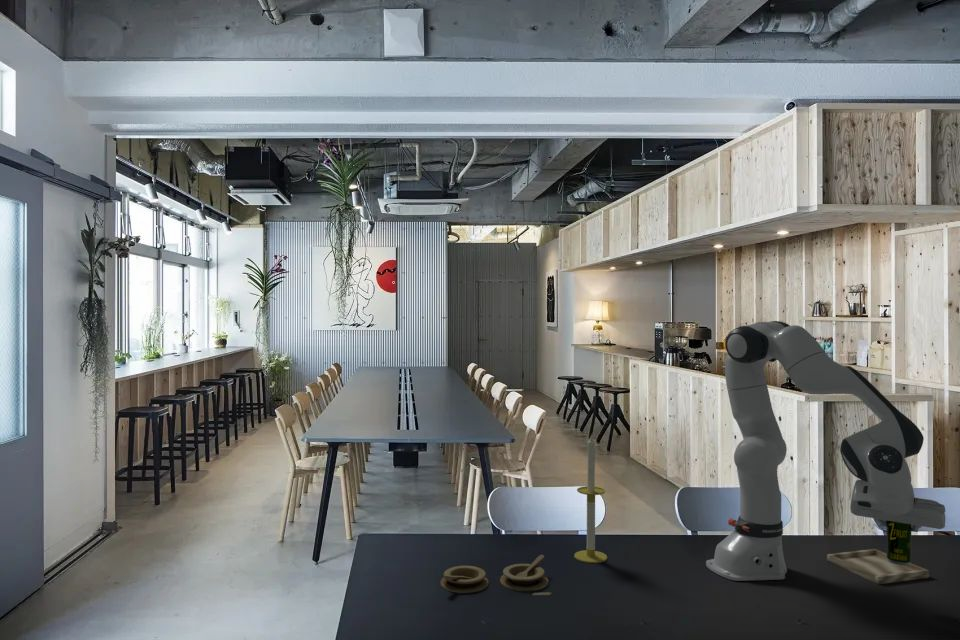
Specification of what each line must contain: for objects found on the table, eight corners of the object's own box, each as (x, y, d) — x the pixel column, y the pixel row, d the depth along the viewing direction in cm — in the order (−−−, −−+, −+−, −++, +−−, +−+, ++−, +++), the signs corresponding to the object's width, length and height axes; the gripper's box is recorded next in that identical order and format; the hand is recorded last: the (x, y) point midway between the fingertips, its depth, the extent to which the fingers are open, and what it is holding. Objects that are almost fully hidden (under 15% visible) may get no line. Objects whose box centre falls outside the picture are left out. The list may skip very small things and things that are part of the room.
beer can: (886, 556, 175) (886, 510, 175) (910, 560, 172) (910, 513, 172) (886, 563, 170) (886, 515, 170) (911, 567, 167) (911, 518, 167)
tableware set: (541, 569, 195) (541, 549, 195) (555, 598, 175) (555, 575, 175) (439, 573, 192) (439, 552, 192) (441, 602, 173) (441, 579, 172)
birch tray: (878, 584, 183) (878, 577, 183) (827, 561, 201) (827, 554, 201) (928, 577, 188) (928, 570, 188) (874, 555, 206) (874, 548, 206)
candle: (592, 549, 210) (593, 429, 210) (614, 559, 201) (615, 434, 201) (567, 554, 205) (567, 432, 204) (588, 565, 196) (589, 438, 196)
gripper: (945, 492, 159) (949, 523, 167) (849, 479, 172) (856, 509, 180) (943, 514, 156) (947, 546, 163) (845, 499, 169) (853, 529, 176)
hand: (899, 526), depth 172 cm, fingers closed on beer can, 5 cm apart
